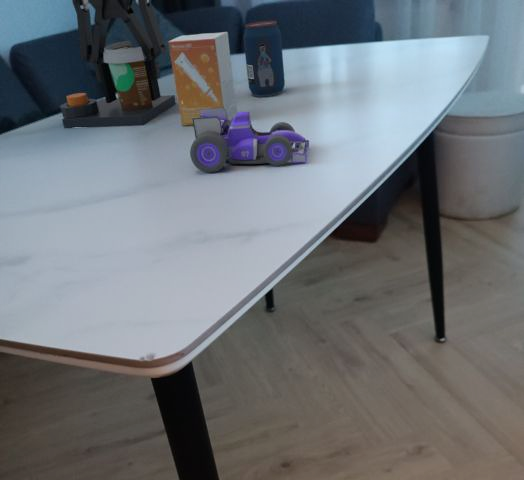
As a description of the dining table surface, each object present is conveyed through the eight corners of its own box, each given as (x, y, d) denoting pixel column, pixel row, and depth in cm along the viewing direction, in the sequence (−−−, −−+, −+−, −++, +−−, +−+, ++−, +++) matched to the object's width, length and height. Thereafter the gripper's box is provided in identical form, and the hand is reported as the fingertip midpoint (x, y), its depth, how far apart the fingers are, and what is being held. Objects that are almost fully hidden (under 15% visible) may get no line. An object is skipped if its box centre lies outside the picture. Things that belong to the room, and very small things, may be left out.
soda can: (272, 87, 119) (266, 19, 112) (292, 91, 114) (287, 20, 107) (243, 94, 116) (235, 25, 109) (262, 99, 111) (254, 27, 104)
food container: (110, 103, 114) (96, 45, 109) (142, 97, 116) (129, 39, 110) (120, 115, 105) (105, 53, 99) (154, 108, 106) (141, 46, 100)
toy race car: (306, 166, 76) (302, 114, 73) (193, 174, 79) (184, 123, 75) (309, 144, 84) (307, 96, 80) (206, 152, 86) (199, 105, 83)
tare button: (65, 108, 108) (62, 98, 107) (75, 103, 111) (72, 93, 110) (82, 107, 107) (79, 97, 106) (92, 102, 110) (89, 92, 109)
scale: (58, 128, 109) (52, 108, 107) (98, 107, 120) (93, 89, 118) (143, 125, 104) (138, 104, 102) (176, 104, 115) (172, 84, 114)
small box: (181, 126, 100) (166, 41, 93) (195, 116, 105) (182, 34, 98) (226, 125, 98) (214, 37, 91) (238, 115, 103) (228, 30, 96)
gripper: (169, -56, 97) (193, 92, 110) (57, -41, 103) (93, 97, 115) (150, -54, 91) (178, 102, 104) (33, -38, 97) (73, 107, 110)
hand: (133, 99), depth 110 cm, fingers closed on food container, 8 cm apart
